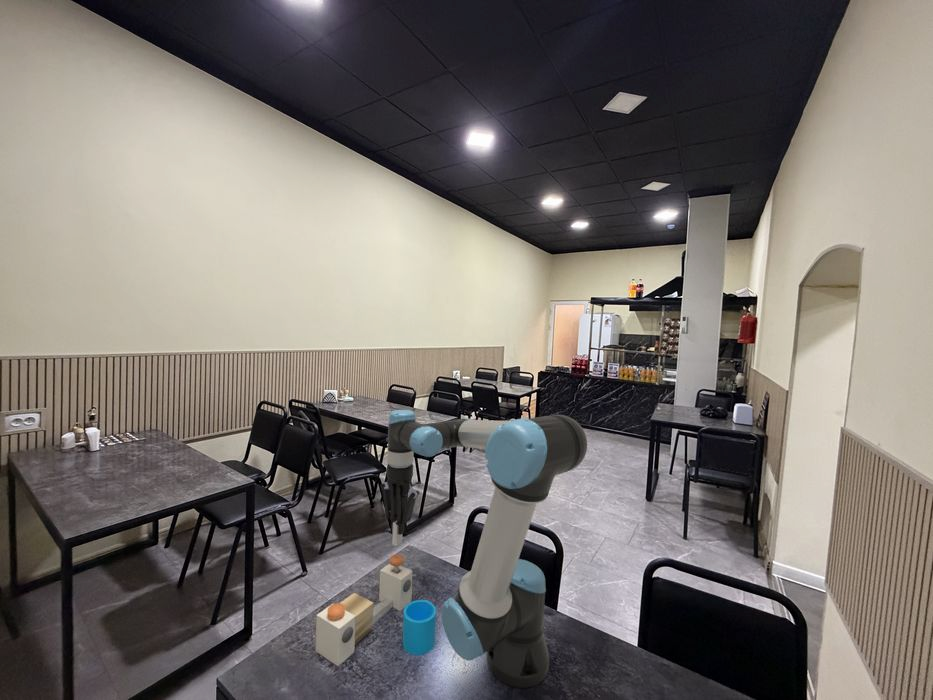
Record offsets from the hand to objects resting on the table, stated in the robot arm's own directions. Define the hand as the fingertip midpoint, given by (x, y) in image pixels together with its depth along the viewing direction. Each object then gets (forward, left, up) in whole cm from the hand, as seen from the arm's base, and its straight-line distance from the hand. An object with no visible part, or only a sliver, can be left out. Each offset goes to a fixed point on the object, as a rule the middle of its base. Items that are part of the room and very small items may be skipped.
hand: (397, 543), depth 112 cm
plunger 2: (0, 0, -10) cm, 10 cm away
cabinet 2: (0, 0, -17) cm, 17 cm away
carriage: (0, +16, -17) cm, 23 cm away
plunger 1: (0, +22, -12) cm, 25 cm away
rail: (0, +11, -17) cm, 20 cm away
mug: (-15, +7, -17) cm, 24 cm away
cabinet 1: (0, +22, -17) cm, 28 cm away
